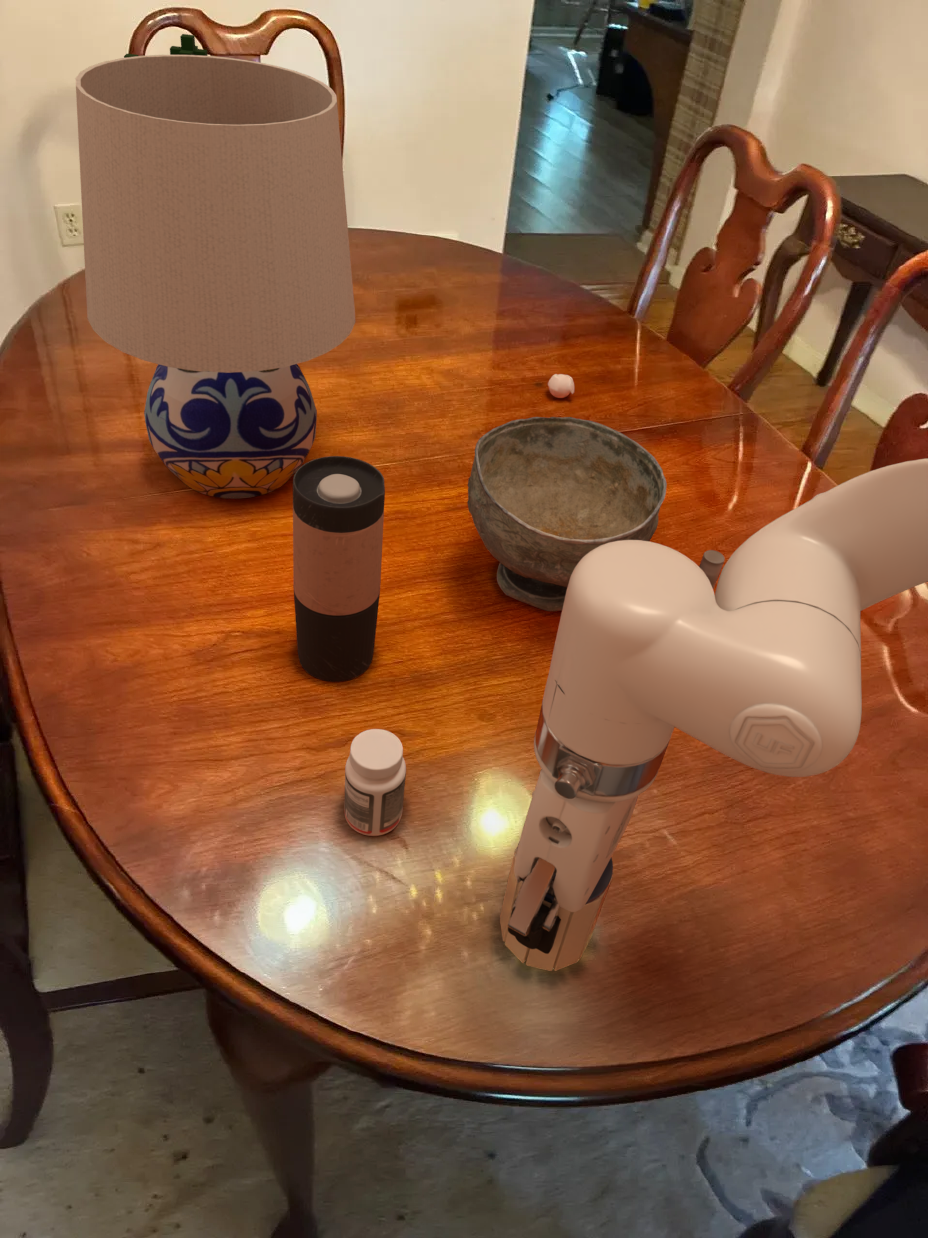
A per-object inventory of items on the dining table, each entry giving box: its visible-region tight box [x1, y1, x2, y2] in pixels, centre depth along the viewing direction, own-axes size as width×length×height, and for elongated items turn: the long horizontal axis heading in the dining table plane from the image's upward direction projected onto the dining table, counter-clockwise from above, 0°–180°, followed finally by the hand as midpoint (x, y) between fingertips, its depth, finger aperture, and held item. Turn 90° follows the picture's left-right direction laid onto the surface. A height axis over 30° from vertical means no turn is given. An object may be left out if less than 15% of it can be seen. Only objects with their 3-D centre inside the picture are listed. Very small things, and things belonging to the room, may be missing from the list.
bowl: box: [466, 416, 668, 612], centre depth 94 cm, size 20×19×15 cm
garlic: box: [547, 373, 575, 399], centre depth 129 cm, size 5×3×5 cm
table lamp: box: [75, 54, 356, 500], centre depth 96 cm, size 27×27×40 cm
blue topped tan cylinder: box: [499, 842, 614, 972], centre depth 65 cm, size 7×7×9 cm
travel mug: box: [292, 455, 386, 683], centre depth 81 cm, size 8×8×20 cm
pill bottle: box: [343, 728, 407, 837], centre depth 73 cm, size 5×5×8 cm
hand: (553, 897), depth 66 cm, fingers closed on blue topped tan cylinder, 7 cm apart
